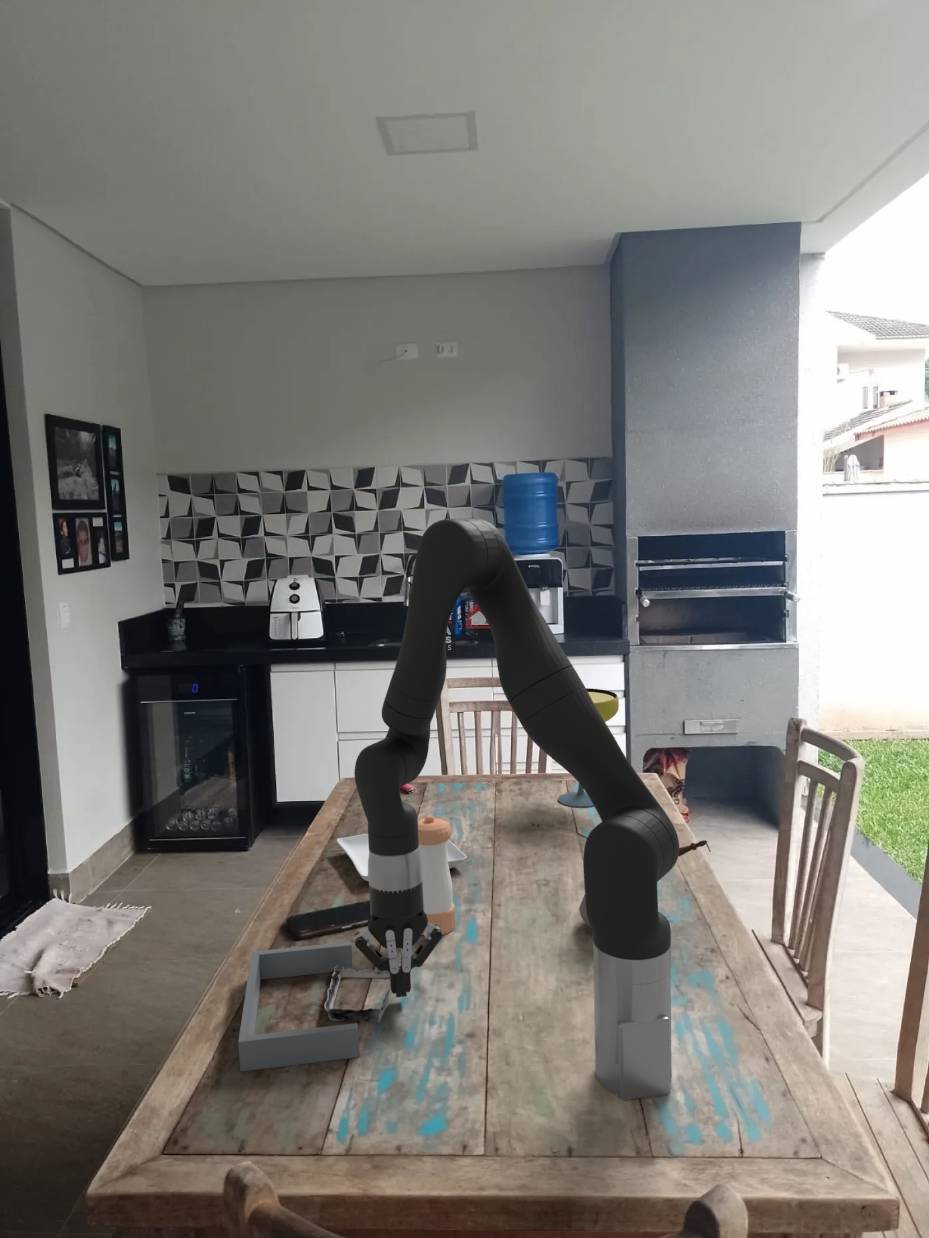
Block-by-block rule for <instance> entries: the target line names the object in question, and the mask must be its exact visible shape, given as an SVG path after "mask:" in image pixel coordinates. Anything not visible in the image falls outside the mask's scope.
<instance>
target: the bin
mask: <svg viewBox="0 0 929 1238" xmlns="http://www.w3.org/2000/svg"><path fill="white" fill-rule="evenodd" d="M250 953H251V954H250V961H249V968H248V973H247V974H248V975H247V980H246V981H247V982H246V987H245V994H244V1001H243V1009H242V1016H241V1021H240V1022H241V1023H240V1028H239V1033H238V1054H239V1055H238V1056H239V1058H238V1059H239V1070H240V1072H247V1071H249V1072H250V1071H255V1070H264V1069H272V1068H274V1069H275V1068H280V1067H282V1068H283V1067H289V1066H297V1065H306V1064H314V1063H323V1062H329V1061H339V1060H347V1059H354V1058H357V1059H358V1058H360V1043H359V1042H360V1039H359V1038H360V1037H359V1026H358V1025H359V1024H358V1022H357V1023H356V1022H355V1023H347V1024H346V1023H345V1024H338V1025H329V1026H322V1027H321V1026H320V1027H312V1028H305V1029H304V1028H303V1029H294V1030H287V1031H277V1032H270V1033H269V1032H268V1033H260V1034H256V1033H255V1031H256V1026H257V1016H258V1015H257V1014H258V1007H259V1000H260V991H261V982H262V981H261V980H269V979H270V980H271V979H282V978H290V977H299V976H309V975H318V974H326V973H334V972H335V970H334V967H336V965H339V968H341V967H344V969H346V968H352V969H354V968H353V967H354V965H353V947H352V941H343V942H333V943H325V944H324V943H323V944H315V945H305V946H296V947H295V946H294V947H285V948H275V949H264V950H256V951H251V952H250Z"/></svg>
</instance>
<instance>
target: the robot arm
mask: <svg viewBox="0 0 929 1238" xmlns="http://www.w3.org/2000/svg"><path fill="white" fill-rule="evenodd" d="M463 591H467V592H468V593H469V595H470V596H471V597H472V599H473V601H474V602H475V603H476V605H477V607H478V609H479V610H480V612H481V613H482V615H483V617H484V618H485V620H486V623H487V625H488V627H489V629H490V632H491V635H492V639H493V645H494V649H495V651H494V652H495V659H496V666H497V673H498V677H499V683H500V685H501V689H502V691H503V695H504V696H505V697H506V700H507V702H508V704H509V705H510V707H511V709H512V710H513V712H514V715H515V716H516V718H517V720H518V721H519V723H520V724H521V726H522V728H523V730H524V731H525V733H526V734H527V736H528V737H529V738H530V739H531V740H532V742H533V743H534V744H536V746H537V747H538V748H539V749H541V751H543V752H544V753H545V754H546V755H548V756H549V758H551V759H552V760H553V761H554V762H556V763H557V764H558V765H559V766H561V767H562V768H563V769H564V770H565V771H566V772H568V773H569V774H570V775H571V776H572V777H573V778H574V779H575V780H576V781H577V782H578V784H579V783H580V785H581V786H582V787H583V789H584V792H586V793H587V795H588V796H589V798H590V800H591V801H592V803H593V805H594V806H593V807H594V808H595V810H596V812H597V814H598V816H599V818H600V820H601V822H600V823H598V824H597V825H596V826H595V827H593V829H591V831H590V832H589V834H588V835H587V837H586V840H585V844H584V849H583V857H582V858H583V859H582V860H583V862H582V863H583V882H584V883H583V884H584V895H585V901H586V913H587V917H588V921H589V923H590V925H591V927H590V928H591V929H592V930H591V931H592V942H593V944H592V945H593V948H592V949H593V998H594V999H593V1004H594V1005H593V1007H594V1011H593V1012H594V1013H593V1016H594V1019H593V1020H594V1021H593V1022H594V1062H595V1063H594V1065H595V1066H594V1067H595V1076H596V1077H595V1078H596V1079H597V1081H598V1082H599V1084H600V1085H602V1086H603V1087H604V1088H605V1089H606V1090H608V1091H610V1092H612V1093H614V1094H616V1095H617V1096H618V1097H619V1099H620V1100H622V1101H625V1100H633V1099H634V1100H635V1099H641V1098H649V1097H656V1096H664V1095H669V1094H671V1083H672V1078H673V1077H672V1075H673V1074H672V1073H673V1072H672V1071H673V1069H672V1066H673V1065H672V971H671V970H672V950H671V949H672V946H671V945H672V942H671V941H672V935H671V934H672V932H671V931H672V928H671V925H670V921H669V920H668V918H667V917H666V916H665V915H664V914H663V913H662V912H660V911H659V899H658V882H659V881H660V880H661V879H663V878H664V877H665V876H666V875H667V874H668V873H669V872H670V871H671V870H672V869H673V868H674V867H675V865H676V863H677V861H678V859H679V857H680V856H679V848H680V842H679V841H680V840H679V836H678V833H677V830H676V829H675V826H674V824H673V822H672V820H671V819H670V817H669V816H668V814H667V813H666V811H665V810H664V809H663V807H662V806H661V804H660V803H659V802H658V800H657V799H656V798H655V796H654V795H653V793H652V792H651V791H650V789H649V787H647V785H646V784H645V783H644V781H643V779H642V778H641V777H640V776H639V774H638V773H637V771H636V770H635V769H634V767H633V765H632V764H631V763H630V761H629V760H628V759H627V757H626V755H625V753H624V752H623V750H622V749H621V747H620V744H619V743H618V741H617V740H616V738H615V736H614V735H613V733H612V731H611V729H610V728H609V726H608V724H607V723H606V722H605V721H604V720H603V718H602V716H601V715H600V713H599V711H598V710H597V708H596V706H595V705H594V703H593V701H592V699H591V697H590V695H589V693H588V691H587V689H586V686H585V684H584V682H583V681H582V679H581V677H580V676H579V674H578V673H577V671H576V669H575V667H574V666H573V664H572V662H571V661H570V659H569V658H568V656H567V654H566V653H565V652H564V650H563V648H562V647H561V645H560V643H559V642H558V639H557V638H556V637H555V635H554V633H553V631H552V629H551V628H550V626H549V624H548V622H547V620H546V619H545V617H544V616H543V615H542V613H541V611H540V609H539V608H538V605H537V604H536V602H535V601H534V599H533V597H532V595H531V593H530V591H529V588H528V586H527V583H526V582H525V580H524V578H523V575H522V573H521V571H520V569H519V566H518V565H517V563H516V559H515V557H514V556H513V554H512V551H511V549H510V547H509V544H508V543H507V541H506V539H505V538H504V536H503V534H502V532H500V531H499V530H498V528H497V527H496V526H494V525H493V524H492V523H490V522H489V521H487V520H484V519H481V518H471V517H469V518H446V519H441V520H440V519H439V520H438V521H436V522H433V523H432V524H430V525H429V526H428V527H427V528H426V530H425V531H424V532H423V534H422V536H421V538H420V541H419V544H418V547H417V552H416V556H415V560H414V568H413V573H412V581H411V589H410V594H409V599H408V605H407V611H406V618H405V624H404V630H403V635H402V639H401V645H400V650H399V653H398V657H397V660H396V662H395V666H394V669H393V672H392V675H391V678H390V682H389V685H388V688H387V691H386V692H385V693H386V694H385V697H384V700H383V703H382V708H381V719H382V721H383V723H384V724H385V725H386V726H387V727H388V730H387V733H386V735H385V737H384V738H382V739H381V740H378V741H376V742H374V743H372V744H370V745H367V746H366V747H364V748H362V750H361V751H360V752H359V754H358V755H357V757H356V761H355V765H354V783H355V786H356V789H357V792H358V797H359V799H360V802H361V807H362V810H363V812H364V815H365V817H366V820H367V834H368V841H369V858H368V878H369V881H368V891H369V907H370V908H369V909H370V912H369V913H370V915H369V918H368V920H367V926H366V928H364V929H363V930H362V931H361V932H360V931H356V933H355V934H354V936H353V937H354V946H355V947H356V948H357V949H358V950H359V952H361V953H362V955H364V957H365V958H366V959H367V960H368V961H370V963H371V964H373V966H374V967H375V968H376V969H377V971H378V970H379V971H383V970H386V971H388V972H389V973H390V978H389V982H390V985H391V991H392V995H394V994H395V995H396V996H395V997H396V998H404V997H405V998H406V997H407V993H410V992H411V990H412V985H411V984H412V981H411V977H412V976H411V971H412V969H414V968H420V967H422V966H423V965H424V963H425V962H426V961H427V959H428V958H429V957H430V955H431V954H432V952H433V951H434V949H435V948H436V947H437V945H438V944H439V942H440V941H441V940H442V939H443V935H442V931H441V928H440V926H439V925H438V924H435V925H434V924H432V923H430V922H429V921H428V919H427V915H426V914H425V912H424V904H423V882H422V862H421V855H420V850H419V837H418V820H419V819H418V813H417V811H416V808H415V807H414V806H413V805H412V804H410V803H407V802H403V801H402V796H401V788H402V787H404V786H406V785H408V784H410V783H412V782H413V781H414V780H415V779H417V778H418V777H419V776H420V774H421V773H422V770H423V769H424V766H425V765H426V762H427V759H428V753H429V749H430V748H429V746H430V739H431V723H432V720H433V718H434V716H435V713H436V710H437V707H438V704H439V702H440V698H441V696H442V692H443V689H444V685H445V682H446V677H447V668H448V667H447V665H448V663H447V650H446V649H447V633H448V627H449V623H450V622H449V621H450V620H451V616H452V613H453V611H454V609H455V606H456V604H457V603H458V601H459V598H460V596H461V594H462V593H463ZM678 856H679V857H678ZM424 930H425V932H424V935H423V936H424V938H423V939H422V941H421V943H420V944H419V945H418V946H417V948H416V949H415V950H414V952H412V950H413V946H414V945H416V943H417V941H418V940H419V939H420V937H421V936H422V935H421V934H422V933H423V931H424ZM372 936H373V937H372ZM373 938H374V939H375V940H376V941H377V942H378V943H379V944H380V945H381V946H382V948H383V949H384V948H385V949H386V950H387V954H388V957H385V955H383V953H382V952H381V951H380V950H379V949H377V947H376V946H375V945H374V944H373ZM397 949H400V965H399V961H398V960H399V959H398V953H397V952H398V951H397ZM412 953H413V954H412Z"/></svg>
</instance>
